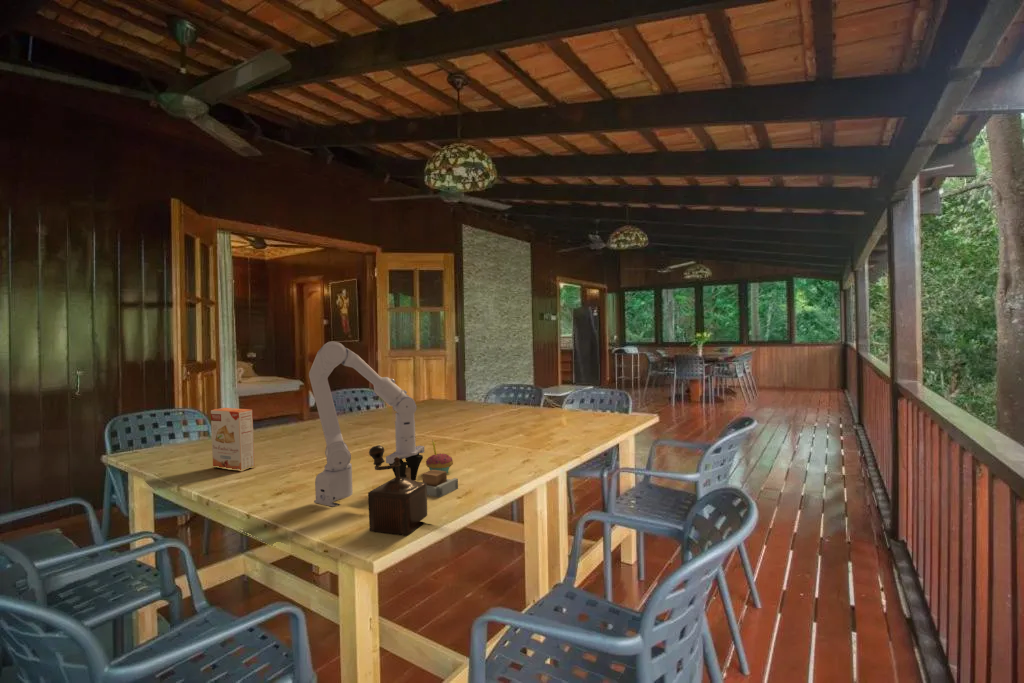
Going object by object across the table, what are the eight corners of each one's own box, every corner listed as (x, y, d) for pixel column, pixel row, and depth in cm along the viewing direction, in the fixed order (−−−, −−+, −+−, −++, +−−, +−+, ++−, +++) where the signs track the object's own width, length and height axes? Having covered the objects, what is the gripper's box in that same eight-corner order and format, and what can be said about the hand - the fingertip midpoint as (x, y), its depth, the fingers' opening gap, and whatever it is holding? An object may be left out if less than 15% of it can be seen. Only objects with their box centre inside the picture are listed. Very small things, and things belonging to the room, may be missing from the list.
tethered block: (437, 493, 138) (436, 475, 138) (398, 486, 145) (397, 469, 145) (446, 489, 142) (446, 471, 142) (408, 482, 149) (408, 465, 149)
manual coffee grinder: (430, 518, 123) (428, 446, 122) (407, 536, 112) (404, 457, 112) (376, 512, 128) (374, 443, 128) (349, 529, 117) (347, 453, 117)
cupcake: (427, 481, 154) (426, 442, 154) (425, 473, 162) (424, 437, 162) (455, 478, 156) (454, 440, 156) (451, 471, 164) (450, 435, 164)
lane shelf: (435, 503, 134) (435, 488, 133) (386, 494, 142) (385, 480, 142) (461, 490, 144) (461, 476, 144) (413, 482, 153) (413, 469, 153)
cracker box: (211, 469, 174) (209, 409, 174) (227, 464, 180) (225, 407, 179) (240, 472, 169) (237, 411, 168) (255, 468, 174) (253, 408, 174)
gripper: (398, 442, 138) (400, 491, 138) (431, 432, 150) (433, 477, 151) (379, 440, 141) (381, 487, 142) (413, 430, 154) (415, 474, 154)
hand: (406, 482), depth 146 cm, fingers open, 4 cm apart
